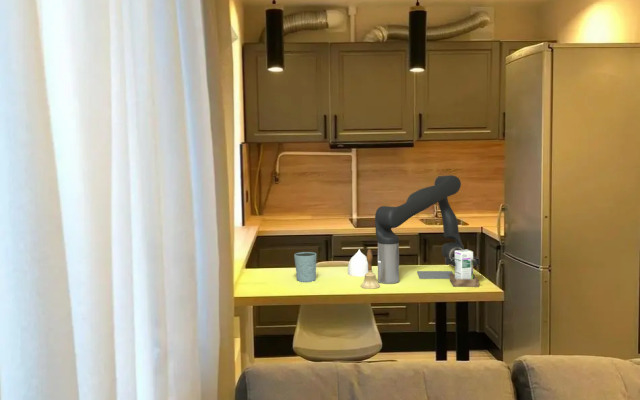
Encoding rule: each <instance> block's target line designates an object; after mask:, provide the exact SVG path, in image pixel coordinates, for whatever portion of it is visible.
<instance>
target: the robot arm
mask: <svg viewBox="0 0 640 400" xmlns="http://www.w3.org/2000/svg"><path fill="white" fill-rule="evenodd" d="M461 186H462V183H461V180H460V178H459V177H457V176H456V175H453V174H452V175H451V174H450V175H449V174H448V175H441V176H438V177H436V179H435V181H434V185H430V186H426V187H424V188H420V189H418V190H416V191H414V192H412V193H410V195H409V196H408V197H407V198H406V199H407V200H406V202H404V203H402V204H400V205H398V206H388V205H381V206H379V207H378V208H377V209H376V212H375V214H374V215H375V216H374V225H375V236H376V238H377V282H378V284H379V283H380V284H397V283H399V282H400V251H399V250H400V243H399V240H400V239H399V235H397V234H395V232H394V231H393V230H392V229H394V228H399V227H400V226H401V225H403V224H404V223H405V222H407V221H408V220H409V219H411V218H412V217H413V216H416V215H418V214H419V213H421V212H423V211H426V210H427V209H428V208H431V206H434V205H435V204H436V203H438V206H439V211H440V214H441V219H442V229H443V236H444V238H446V239H452V240H455V242H447V243H443V244H442V246H441V254H442V256H443V257H444V259H445V260H444V263H445V265H447V266H448V265H450V266H452V267H455V251H456V250H465V247H464V244H463V243H462V239H461V237H460V231H459V222H458V219H457V216H456V214H455V212H454V210H453V209H452V207H451V206H450V203H449V199H448V197H450V196H453V195H456V194H457V193H459V191H460V190H461ZM479 265H480V258H479V257H478V256H473V267H476V266H479Z"/></svg>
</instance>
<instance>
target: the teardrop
mask: <svg viewBox="0 0 640 400" xmlns="http://www.w3.org/2000/svg"><path fill="white" fill-rule="evenodd" d="M347 265H348V266H347V275H349V276H352V277H365V274H366V273H368V262H367V255H365V254H364V253H363V252H361V249H360V248H359V249H358V251H357V252H356V253H355V254H354V255H353V256H352V257H351V258H350V259H349V262H348V264H347Z"/></svg>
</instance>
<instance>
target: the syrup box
mask: <svg viewBox="0 0 640 400" xmlns="http://www.w3.org/2000/svg"><path fill="white" fill-rule="evenodd" d="M473 257H474V251H472V250H470V249H464V250H456V251H455V266H454V274H455V279H473V274H474V266H473Z"/></svg>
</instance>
